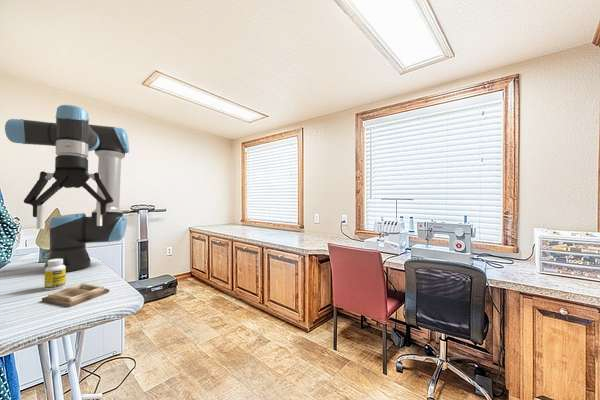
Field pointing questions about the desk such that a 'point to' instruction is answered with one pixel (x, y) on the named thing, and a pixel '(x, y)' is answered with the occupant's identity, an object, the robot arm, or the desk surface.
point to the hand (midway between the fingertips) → (71, 227)
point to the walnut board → (75, 295)
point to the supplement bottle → (55, 274)
